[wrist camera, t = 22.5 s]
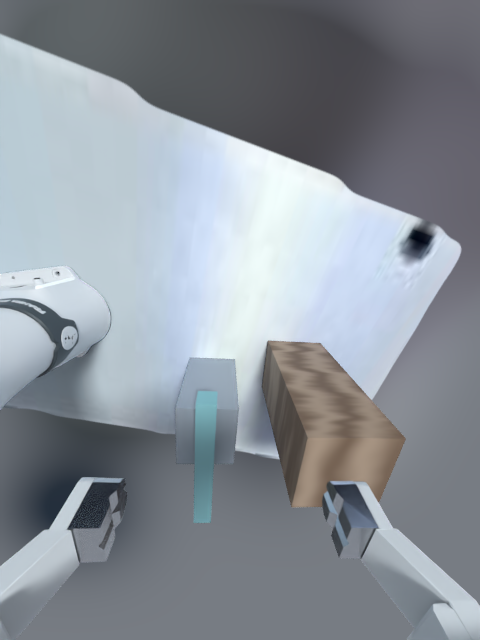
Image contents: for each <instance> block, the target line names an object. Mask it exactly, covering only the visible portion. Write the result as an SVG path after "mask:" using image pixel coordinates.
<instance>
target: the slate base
mask: <svg viewBox="0 0 480 640" xmlns="http://www.w3.org/2000/svg"><path fill="white" fill-rule="evenodd" d="M198 391H217V392H218V395H217V414H216V432H215V451H214V464H234V454H235V443H236V433H237V422H238V412H239V407H238V394H237V381H236V368H235V359H212V358H190V359H189V363H188V366H187V369H186V373H185V376H184V380H183V383H182V387H181V390H180V393H179V397H178V400H177V404H176V407H175V426H176V464H195V409H196V399H197V394H198Z"/></svg>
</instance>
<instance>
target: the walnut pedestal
mask: <svg viewBox="0 0 480 640" xmlns="http://www.w3.org/2000/svg"><path fill="white" fill-rule="evenodd" d="M262 389H263V393H264V397H265V401H266V405H267V409H268V413H269V417H270V421H271V425H272V429H273V434H274V438H275V442H276V446H277V450H278V454H279V458H280V462H281V466H282V470H283V474H284V478H285V482H286V486H287V491H288V495H289V499H290V502H291V507H322V498H323V494H324V493H326V492H327V488H326V485H327V483H328V482H329V481H363V482H366V483H367V484H368V485H369V487H370V489H371V491H372V492H373V494H374V496H375V498H376V499H377V501H378V503H379V501H380V499H381V496H382V494H383V492H384V489H385V487H386V484H387V482H388V480H389V477H390V475H391V473H392V470H393V468H394V465H395V463H396V461H397V458H398V456H399V454H400V451H401V449H402V446H403V444H404V442H405V437H404V436H403V435H402V434H401V433H400V432H399V431H398V430H397V428H396V427H395V426H394V425H393V424H392V423H391V422H390V421H389V419H388V418H387V417H386V416H385V415H384V414H383V413H382V412H381V411H380V409H379V408H378V407H377V406H376V405H375V404H374V403H373V402H372V400H371V399H370V398H369V397H368V396H367V395H366V394H365V393H364V391H363V390H362V389H361V388H360V387H359V386H358V385H357V384H356V383H355V381H354V380H353V379H352V378H351V377H350V376H349V375H348V374H347V372H346V371H345V370H344V369H343V368H342V367H341V366H340V365H339V364H338V362H337V361H336V360H335V359H334V358H333V357H332V356H331V355H330V353H329V352H328V351H327V350H326V349H325V348H324V347H323V346H322V345H321V343H305V342H284V341H268V344H267V352H266V359H265V367H264V374H263V382H262Z"/></svg>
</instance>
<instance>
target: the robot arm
mask: <svg viewBox="0 0 480 640" xmlns="http://www.w3.org/2000/svg"><path fill="white" fill-rule="evenodd" d="M58 272H59V273H60V275H59V274H58ZM110 323H111V316H110V311H109V308H108V306H107V303H106V302H105V300H104V299H103V297H102V296H101V295H100V294H99V293H98V292H97V291H96V290H95V289H94V288H93V287H91V286H90V285H88V284H87V283H85V282H84V281H82V280H81V279H80V278H79V277H78V276H77V274H76V273H75V272H74V271H73V270H72V269H71V268H70V267H68V266H55V267H47V268H39V269H31V270H23V271H15V272H7V273H0V410H1V409H2V408H3V407H4V405H5V404H6V403H7V402H8V401H9V400H10V399H11V398H13V397H14V396H15V395H16V394H17V393H18V392H19V391H20V390H21V389H23V388H24V387H25V386H26V385H27V384H29V383H30V382H31V381H32V380H34V379H35V378H37V377H40V376H43V375H45V374H46V373H48V372H50V371H51V370H53V369H55V368H56V367H59V366H61V365H63V364H64V363H66V362H68V361H69V360H71V359H72V358H74V357H82V356H83V355H85V354H86V353H87V352H88V350H89V349H90V347H91V346H92V345H93V344H95V343H97V342H99V341H100V340H101V339H103V338H104V336H105V335H106V334H107V332H108V330H109V328H110ZM125 485H126V483H125V478H97V477H83V478H81V479H80V480H79V482H78V483H77V484H76V486H75V488H74V489H73V491H72V492H71V494H70V496H69V497H68V499H67V501H66V502H65V504H64V506H63V507H62V509H61V510H60V512H59V514H58V515H57V517H56V519H55V520H54V522H53V524H52V525H51V527H50V529H49V530H43V531H42V532H41V533H40V534H39V535H37V536H36V537H35V538H34V539H33V540H31V541H30V542H29V543H28V544H27V545H25V546H24V547H23V548H22V549H21V550H19V551H18V552H17V553H16V554H15V555H14V556H12V557H11V558H10V559H9V560H7V561H6V562H5V563H4V564H3V565H2V566H0V640H16V638H17V637H18V636H19V635H20V634H21V633H22V632H23V630H24V629H25V628H26V627H27V626H28V624H29V623H30V622H31V621H32V620H33V619H34V617H35V616H36V615H37V614H38V613H39V612H40V610H41V609H42V608H43V607H44V606H45V604H46V603H47V602H48V601H49V600H50V599H51V598H52V596H53V595H54V594H55V593H56V592H57V590H58V589H59V588H60V587H61V586H62V585H63V583H64V582H65V581H66V580H67V579H68V578H69V576H70V575H71V574H72V573H73V572H74V570H75V569H76V568H77V567H78V566H79V563H83V562H103V561H106V560H107V558H108V555H109V552H110V549H111V546H112V544H113V542H114V539H115V532H114V529H115V528H116V526H117V525H118V524H119V523H120V522H121V520H122V517H123V514H124V511H125V507H126V502H127V492H126V491H125V490H124V487H125ZM326 488H327V492H326V493H324V494H323V498H322V508H323V513H324V516H325V519H326V522H327V523H328V524H329V525H330V527H331V528H332V534H331V537H332V540H333V542H334V545H335V548H336V551H337V553H338V557H339V558H351V559H361V561H362V562H363V564H364V565H365V566H366V567H367V569H368V570H369V571H370V573H371V574H372V575H373V576H374V578H375V579H376V580H377V581H378V583H379V584H380V585H381V587H382V588H383V589H384V590H385V592H386V593H387V594H388V595H389V597H390V598H391V599H392V601H393V602H394V603H395V605H396V606H397V607H398V608H399V609H400V611H401V612H402V614H403V615H404V616H405V617H406V618H407V620H408V621H409V623H410V624H411V625H412V626H413V628H414V630H413V632H412V633H411V634H410V636H409V637H408V638H407V640H480V606H479V604H478V603H477V601H476V600H475V599H474V598H472V597H471V596H470V595H469V594H468V593H467V592H466V591H465V590H464V589H462V588H461V587H460V586H459V585H458V584H457V583H456V582H455V581H454V580H453V579H452V578H450V577H449V576H448V575H447V574H446V573H445V572H444V571H443V570H442V569H440V568H439V567H438V566H437V565H436V564H435V563H434V562H433V561H432V560H431V559H430V558H428V557H427V556H426V555H425V554H424V553H423V552H422V551H421V550H420V549H418V548H417V547H416V546H415V545H414V544H413V543H412V542H411V541H410V540H409V539H408V538H406V537H405V536H404V535H403V534H402V533H401V532H400V531H399V530H398V529H393V527H392V526H391V524H390V522H389V521H388V519H387V517H386V515H385V514H384V512H383V510H382V508H381V507H380V505H379V503H378V501H377V499H376V498H375V496H374V494H373V492H372V491H371V489H370V487H369V485H368V484H367V483H366V482H363V481H329V482H328V483H327V485H326Z"/></svg>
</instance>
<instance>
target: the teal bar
mask: <svg viewBox="0 0 480 640" xmlns="http://www.w3.org/2000/svg"><path fill="white" fill-rule="evenodd" d="M217 395H218V392H217V391H198V394H197V399H196V409H195V478H194V523H207V522H208V523H209V522H211V506H212V488H213V469H214V451H215V432H216V414H217Z"/></svg>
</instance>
